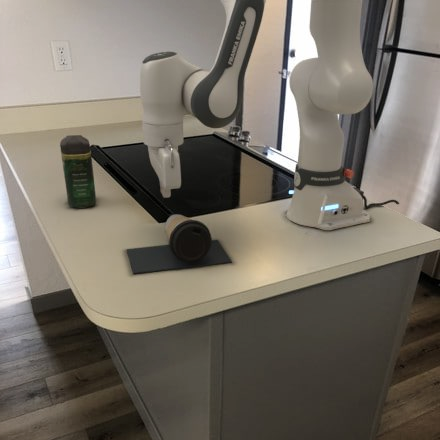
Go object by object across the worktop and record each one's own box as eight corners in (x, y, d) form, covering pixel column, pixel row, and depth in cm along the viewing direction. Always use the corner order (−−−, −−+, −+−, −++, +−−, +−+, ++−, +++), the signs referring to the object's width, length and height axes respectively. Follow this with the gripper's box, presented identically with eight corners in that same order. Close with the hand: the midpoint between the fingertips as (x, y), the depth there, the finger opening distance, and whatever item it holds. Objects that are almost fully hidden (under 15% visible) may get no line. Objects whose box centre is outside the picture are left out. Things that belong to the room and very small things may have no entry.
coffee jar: (97, 207, 137) (89, 140, 127) (68, 210, 135) (58, 141, 125) (96, 196, 145) (88, 132, 135) (68, 198, 143) (58, 133, 133)
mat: (217, 241, 119) (217, 239, 119) (231, 262, 109) (231, 261, 109) (126, 250, 113) (126, 249, 113) (133, 274, 103) (133, 272, 103)
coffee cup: (192, 203, 116) (210, 217, 103) (198, 240, 120) (216, 259, 107) (153, 211, 114) (167, 227, 101) (161, 249, 118) (175, 269, 105)
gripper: (187, 145, 99) (188, 210, 106) (168, 124, 116) (171, 181, 123) (156, 147, 97) (159, 212, 104) (142, 125, 114) (146, 183, 121)
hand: (165, 195), depth 114 cm, fingers closed
